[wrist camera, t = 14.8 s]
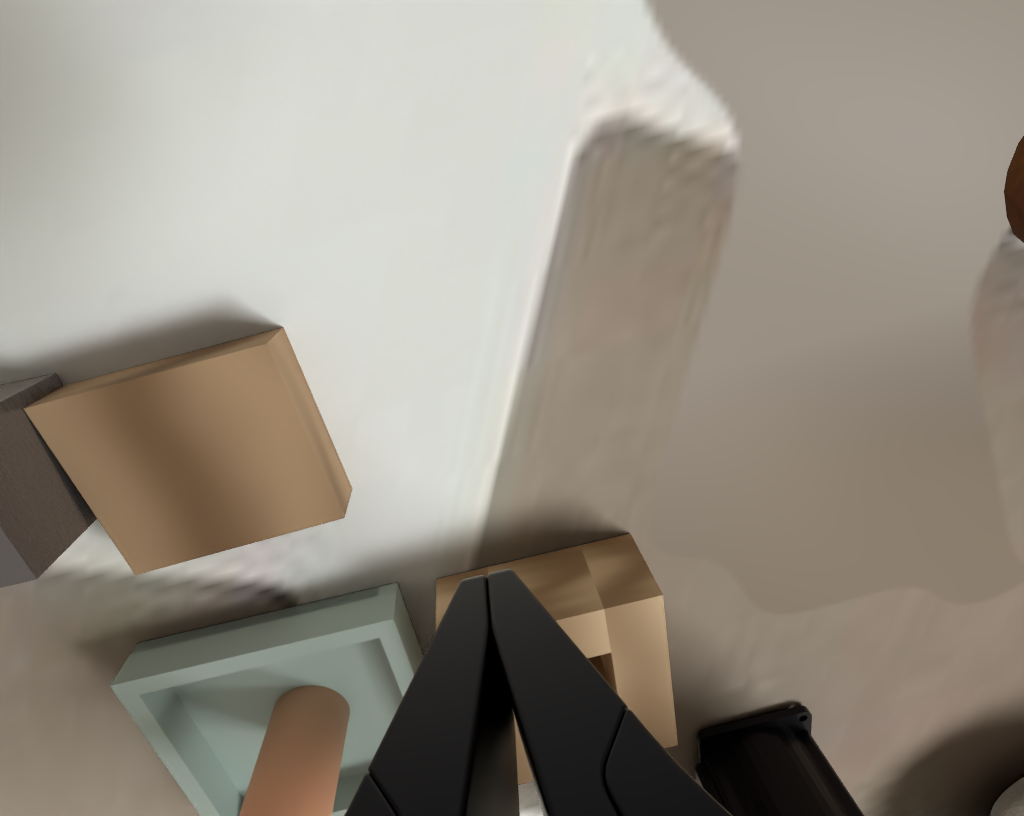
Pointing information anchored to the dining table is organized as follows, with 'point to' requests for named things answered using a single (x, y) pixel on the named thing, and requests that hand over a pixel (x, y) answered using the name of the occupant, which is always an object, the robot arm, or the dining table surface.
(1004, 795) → the cereal bowl
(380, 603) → the tray
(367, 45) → the dining table surface
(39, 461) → the grey rectangular block
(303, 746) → the dowel
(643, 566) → the socket block
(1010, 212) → the wooden figurine
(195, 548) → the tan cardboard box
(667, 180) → the dining table surface
